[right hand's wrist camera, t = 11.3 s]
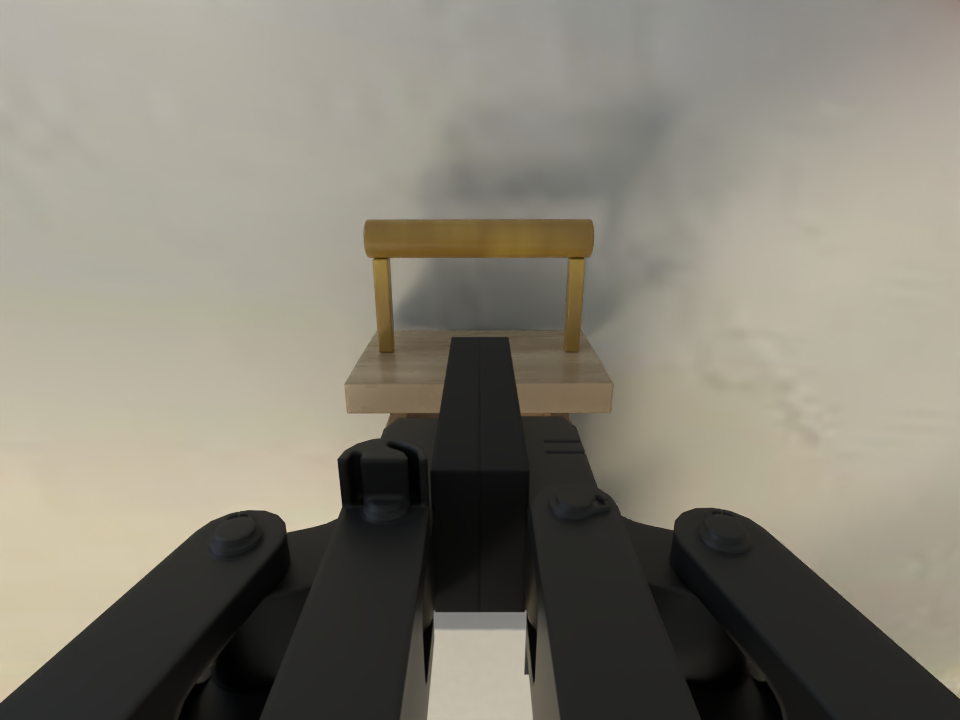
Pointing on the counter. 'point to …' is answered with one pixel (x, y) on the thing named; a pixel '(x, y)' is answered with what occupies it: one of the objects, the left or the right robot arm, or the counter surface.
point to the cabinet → (479, 667)
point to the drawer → (424, 354)
